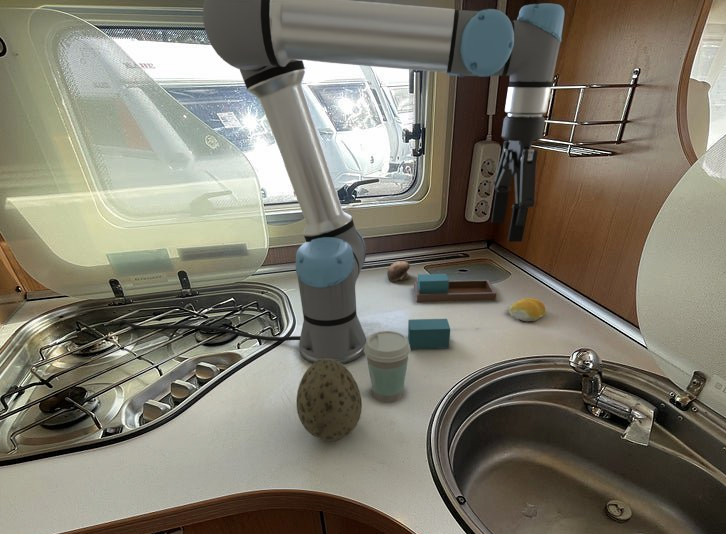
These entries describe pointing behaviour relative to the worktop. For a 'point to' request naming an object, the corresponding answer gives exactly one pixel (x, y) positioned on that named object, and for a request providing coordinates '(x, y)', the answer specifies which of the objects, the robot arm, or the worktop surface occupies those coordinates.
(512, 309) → the bread roll
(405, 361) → the coffee cup
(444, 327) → the teal rectangular block
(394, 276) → the mushroom
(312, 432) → the decorative egg
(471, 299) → the brown shallow rectangular tray
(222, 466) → the worktop surface
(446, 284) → the turquoise block
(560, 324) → the worktop surface
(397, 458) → the worktop surface
